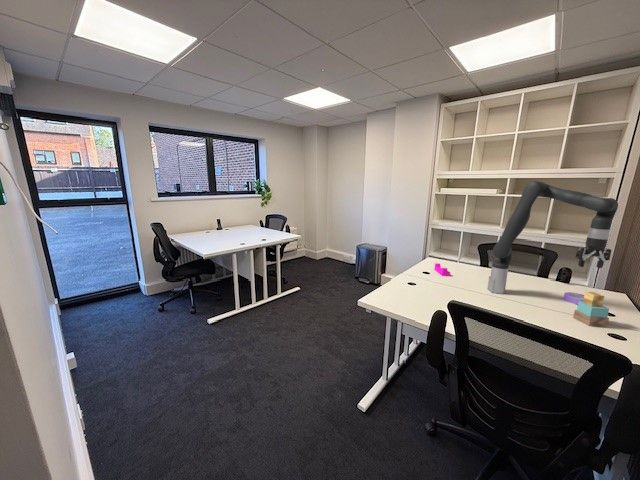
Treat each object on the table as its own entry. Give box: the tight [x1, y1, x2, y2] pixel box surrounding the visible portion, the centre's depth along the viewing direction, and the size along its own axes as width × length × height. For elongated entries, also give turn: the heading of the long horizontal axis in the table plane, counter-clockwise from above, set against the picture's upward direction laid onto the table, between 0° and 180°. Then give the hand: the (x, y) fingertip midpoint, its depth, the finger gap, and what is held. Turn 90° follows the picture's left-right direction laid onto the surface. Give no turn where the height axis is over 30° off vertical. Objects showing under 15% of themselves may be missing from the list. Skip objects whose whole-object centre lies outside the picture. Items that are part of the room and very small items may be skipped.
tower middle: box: [576, 301, 610, 318], centre depth 138 cm, size 8×8×5 cm
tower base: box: [572, 309, 610, 328], centre depth 139 cm, size 9×9×5 cm
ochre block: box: [583, 291, 605, 307], centre depth 138 cm, size 5×5×6 cm
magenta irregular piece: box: [433, 262, 451, 277], centre depth 215 cm, size 15×6×8 cm, turn 179°
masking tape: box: [563, 291, 585, 306], centre depth 165 cm, size 12×12×4 cm
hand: (589, 267), depth 139 cm, fingers open, 8 cm apart
